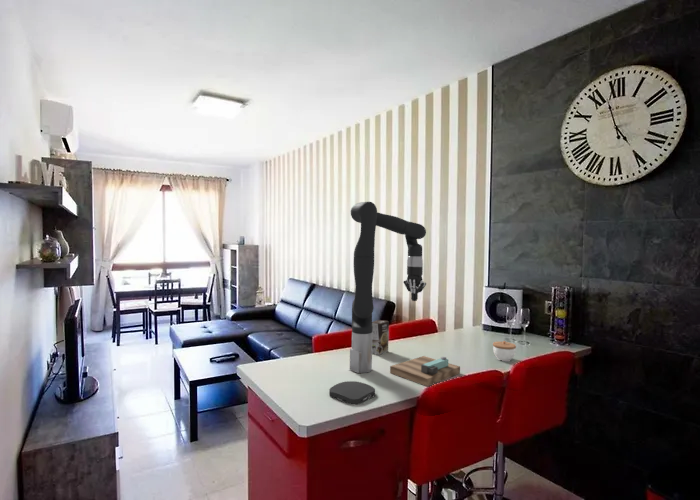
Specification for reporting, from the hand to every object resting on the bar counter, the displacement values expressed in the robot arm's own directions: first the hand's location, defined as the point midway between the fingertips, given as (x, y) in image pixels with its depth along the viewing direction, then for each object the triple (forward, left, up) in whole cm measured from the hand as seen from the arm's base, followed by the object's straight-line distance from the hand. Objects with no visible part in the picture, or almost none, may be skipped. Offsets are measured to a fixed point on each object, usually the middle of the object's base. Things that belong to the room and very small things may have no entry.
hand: (414, 300), depth 189 cm
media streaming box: (-52, -12, -30) cm, 61 cm away
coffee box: (-4, +20, -29) cm, 36 cm away
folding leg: (-11, -21, -26) cm, 35 cm away
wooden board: (-11, -15, -29) cm, 35 cm away
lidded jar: (+36, -28, -29) cm, 55 cm away
